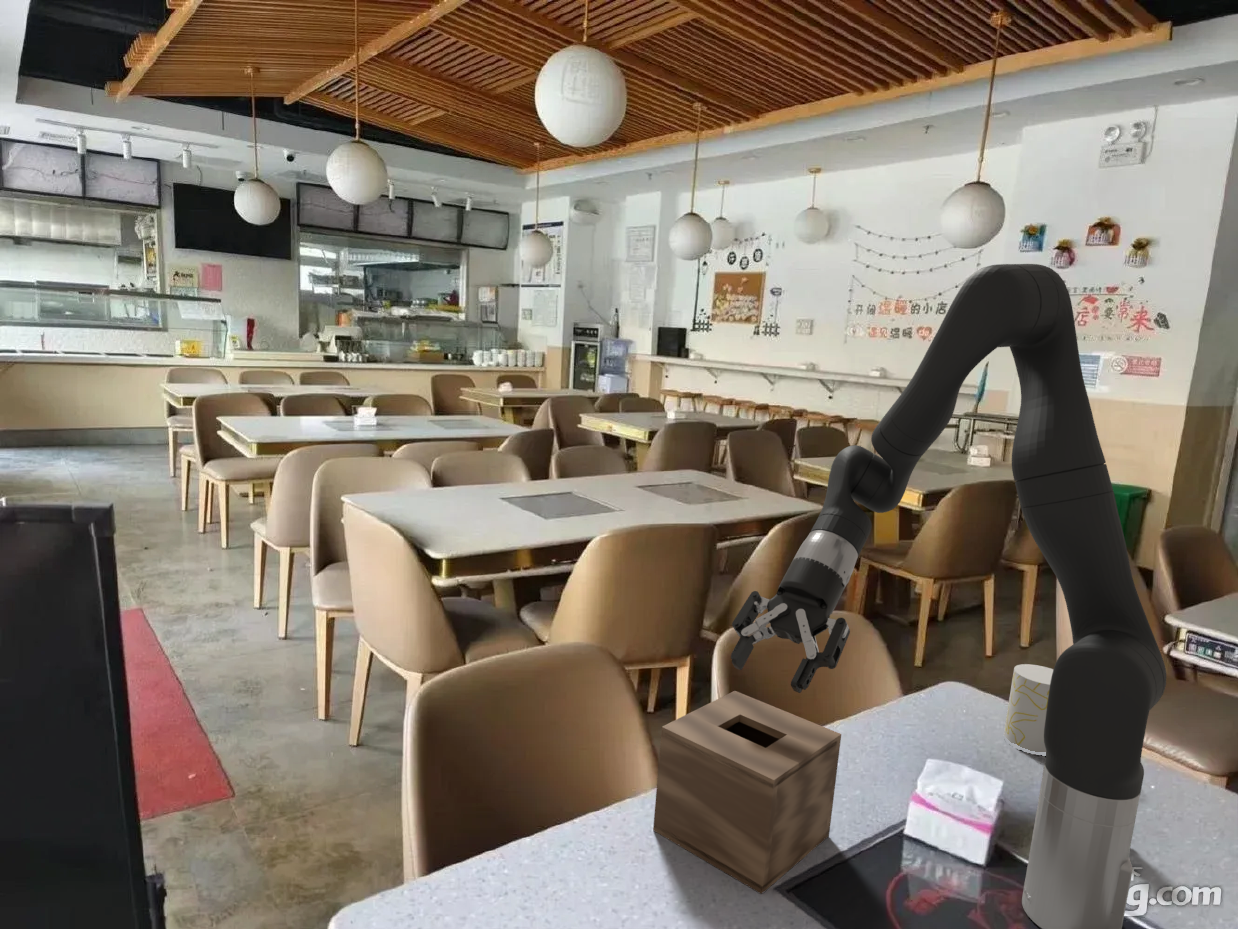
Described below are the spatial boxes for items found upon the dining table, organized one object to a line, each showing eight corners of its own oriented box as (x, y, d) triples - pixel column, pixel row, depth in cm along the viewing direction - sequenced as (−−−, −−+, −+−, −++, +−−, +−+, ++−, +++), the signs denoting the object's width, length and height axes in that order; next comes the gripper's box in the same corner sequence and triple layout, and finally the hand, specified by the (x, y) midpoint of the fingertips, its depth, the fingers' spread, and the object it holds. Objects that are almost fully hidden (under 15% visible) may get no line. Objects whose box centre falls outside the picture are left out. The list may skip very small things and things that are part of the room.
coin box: (725, 784, 115) (734, 690, 112) (828, 836, 104) (841, 734, 102) (653, 830, 103) (661, 726, 101) (761, 894, 92) (773, 780, 90)
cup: (992, 733, 136) (1002, 665, 134) (1031, 729, 138) (1042, 662, 137) (1029, 758, 128) (1041, 687, 126) (1070, 754, 131) (1082, 683, 129)
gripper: (764, 544, 110) (707, 645, 104) (863, 570, 101) (808, 682, 94) (780, 575, 115) (727, 673, 108) (876, 602, 106) (824, 711, 99)
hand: (764, 677), depth 101 cm, fingers open, 8 cm apart
